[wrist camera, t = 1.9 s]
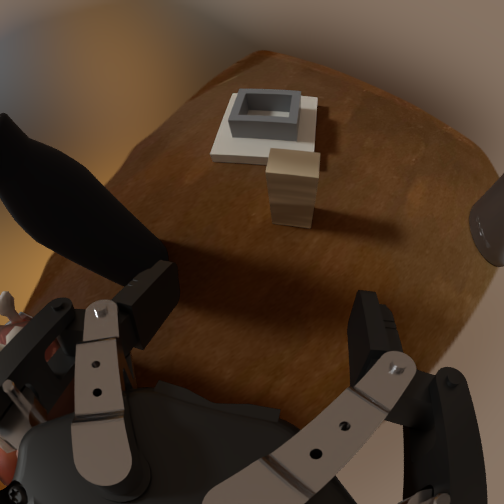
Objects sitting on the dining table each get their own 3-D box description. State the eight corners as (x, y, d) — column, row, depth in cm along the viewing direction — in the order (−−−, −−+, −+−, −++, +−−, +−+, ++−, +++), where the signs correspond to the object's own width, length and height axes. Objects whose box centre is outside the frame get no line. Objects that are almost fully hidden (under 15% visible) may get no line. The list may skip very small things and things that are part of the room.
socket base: (312, 169, 30) (314, 144, 26) (212, 161, 33) (203, 137, 28) (317, 105, 34) (318, 80, 30) (234, 100, 36) (229, 77, 32)
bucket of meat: (98, 291, 29) (-42, 221, 10) (192, 402, 23) (29, 462, 5) (30, 388, 25) (-84, 376, 6) (98, 486, 20) (-16, 530, 1)
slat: (310, 228, 28) (318, 178, 20) (272, 223, 29) (265, 172, 20) (312, 207, 29) (320, 152, 20) (275, 202, 30) (270, 147, 21)
